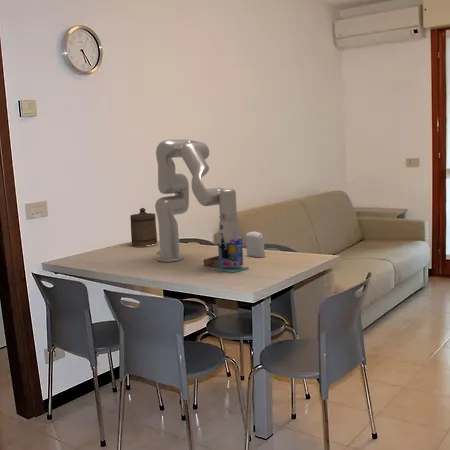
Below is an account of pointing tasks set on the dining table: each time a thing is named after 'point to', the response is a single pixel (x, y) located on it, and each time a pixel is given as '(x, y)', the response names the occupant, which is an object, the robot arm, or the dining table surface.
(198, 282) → the dining table surface
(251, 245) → the photo printer
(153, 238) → the wooden container
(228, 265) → the ink cartridge box
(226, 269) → the teal mat
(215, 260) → the walnut frame
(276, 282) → the dining table surface
